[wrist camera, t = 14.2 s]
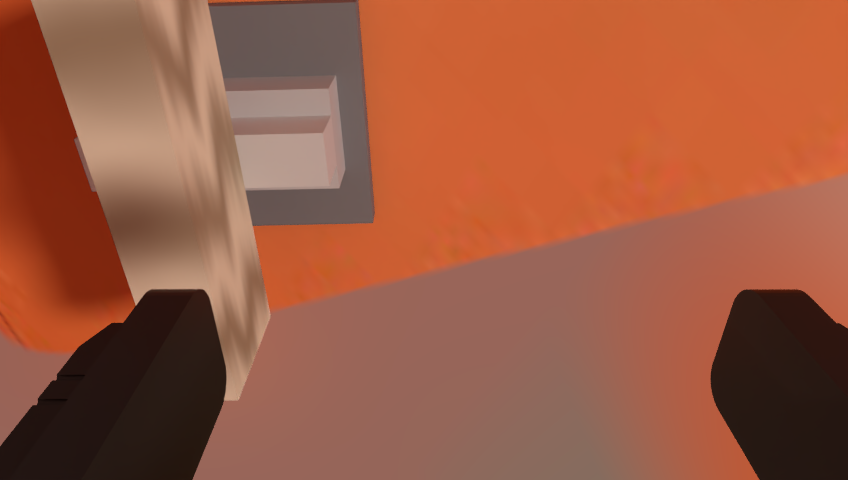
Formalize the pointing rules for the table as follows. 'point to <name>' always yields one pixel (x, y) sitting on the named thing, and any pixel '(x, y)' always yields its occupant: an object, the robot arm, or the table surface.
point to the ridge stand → (296, 109)
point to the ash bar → (163, 155)
